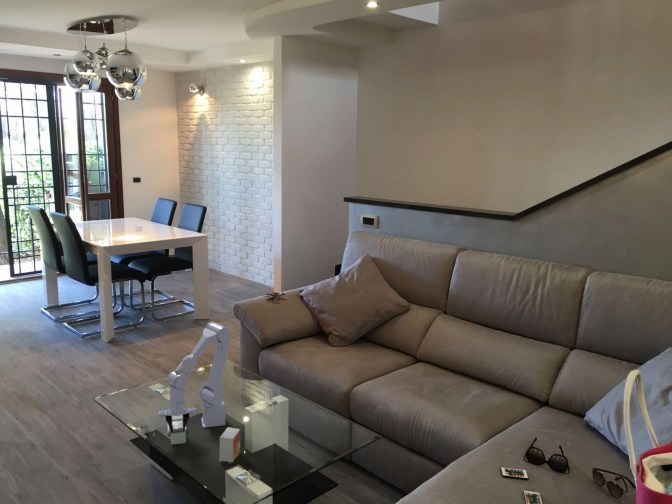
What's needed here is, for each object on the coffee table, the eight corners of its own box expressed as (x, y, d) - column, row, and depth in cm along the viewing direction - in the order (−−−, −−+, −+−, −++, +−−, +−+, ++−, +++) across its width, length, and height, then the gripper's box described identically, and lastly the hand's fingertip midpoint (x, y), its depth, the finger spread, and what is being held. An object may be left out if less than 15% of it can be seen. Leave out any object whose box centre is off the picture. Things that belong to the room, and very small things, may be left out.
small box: (233, 464, 214) (233, 439, 212) (219, 462, 215) (219, 437, 213) (240, 452, 222) (240, 428, 219) (227, 450, 223) (227, 426, 220)
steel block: (182, 431, 234) (182, 420, 232) (183, 438, 228) (183, 427, 227) (172, 432, 232) (172, 421, 231) (173, 440, 227) (172, 429, 226)
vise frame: (185, 422, 242) (185, 413, 241) (188, 442, 227) (187, 433, 226) (167, 424, 239) (167, 415, 238) (168, 444, 224) (168, 435, 223)
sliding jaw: (183, 422, 241) (182, 414, 240) (183, 426, 238) (183, 418, 237) (169, 424, 239) (169, 415, 239) (169, 428, 236) (169, 419, 235)
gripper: (194, 394, 233) (195, 423, 236) (158, 397, 228) (158, 428, 231) (196, 402, 226) (196, 432, 229) (158, 406, 222) (159, 437, 225)
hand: (177, 431), depth 230 cm, fingers closed on steel block, 4 cm apart
